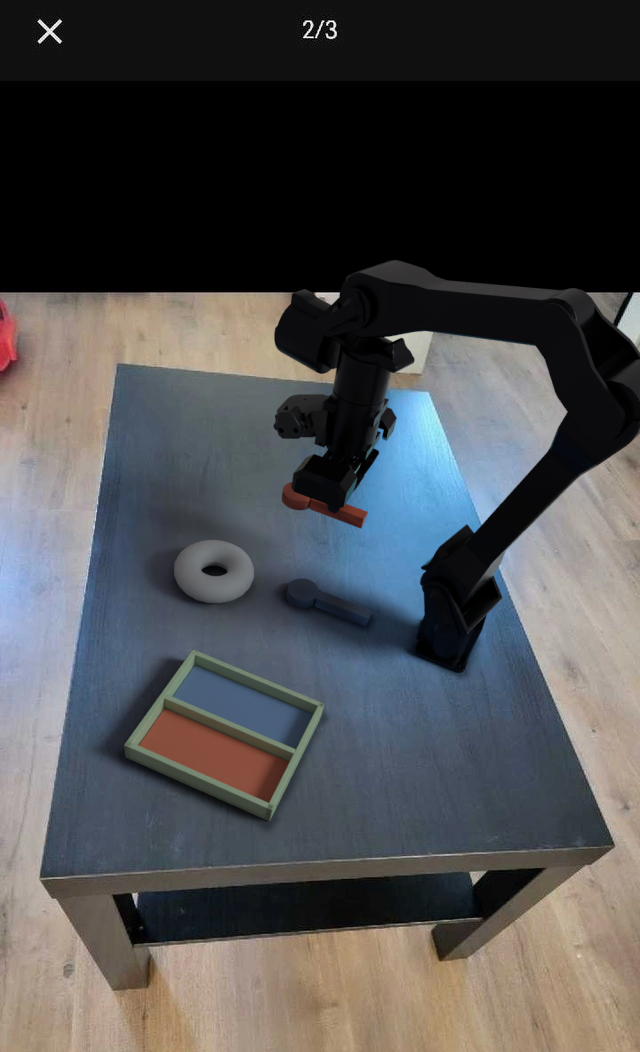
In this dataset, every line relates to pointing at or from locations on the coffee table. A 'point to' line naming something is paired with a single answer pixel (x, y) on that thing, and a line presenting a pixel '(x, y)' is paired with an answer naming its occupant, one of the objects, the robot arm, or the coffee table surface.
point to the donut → (213, 586)
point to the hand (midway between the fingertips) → (335, 507)
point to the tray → (226, 733)
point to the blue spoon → (325, 601)
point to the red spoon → (323, 507)
